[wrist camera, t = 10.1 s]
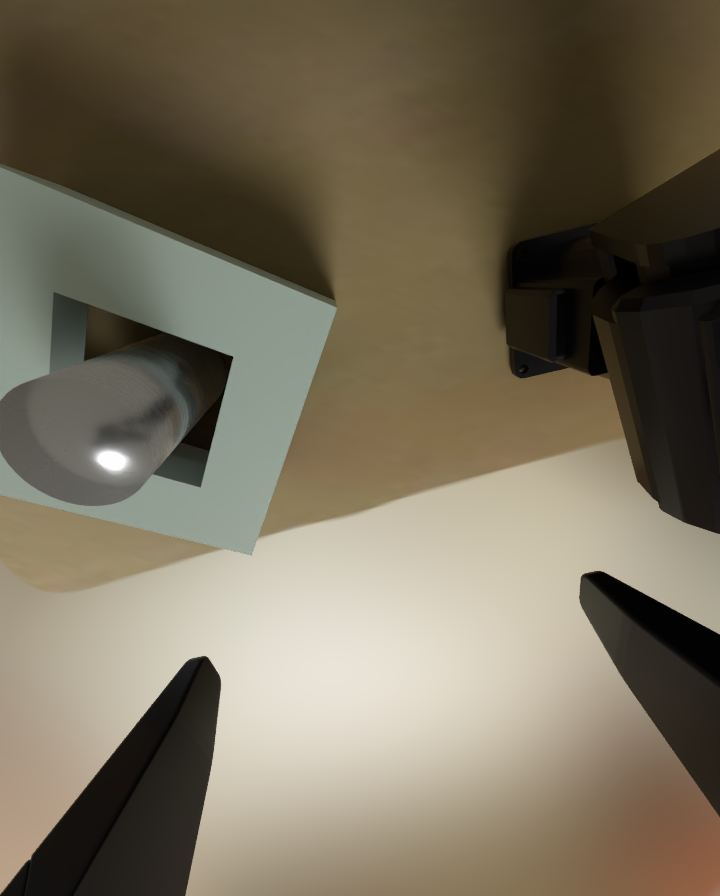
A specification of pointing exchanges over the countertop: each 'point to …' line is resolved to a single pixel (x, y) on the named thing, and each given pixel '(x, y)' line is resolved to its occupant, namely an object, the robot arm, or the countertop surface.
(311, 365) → the slate pin jig
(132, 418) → the steel pin
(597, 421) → the countertop surface
